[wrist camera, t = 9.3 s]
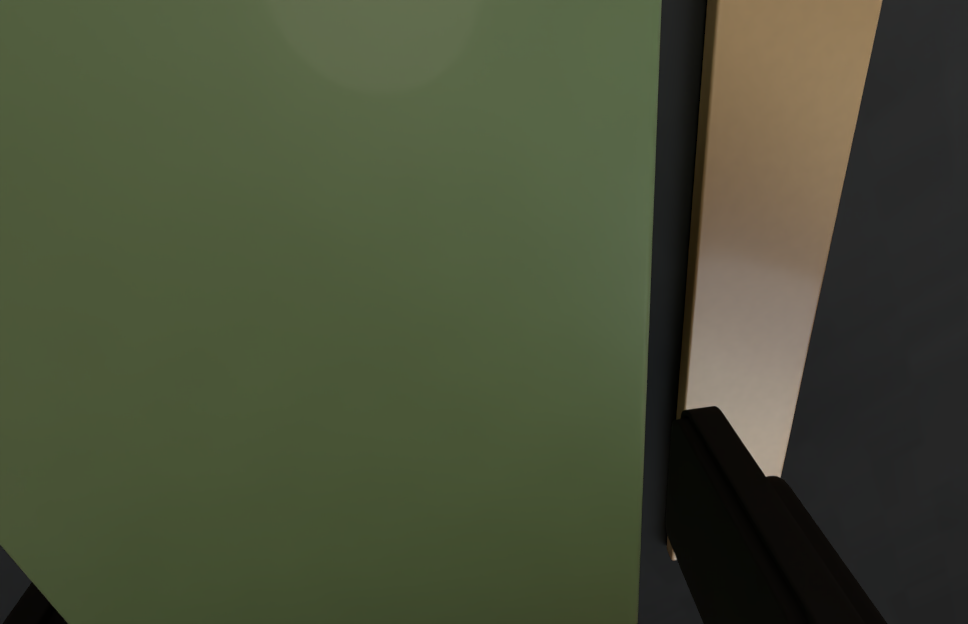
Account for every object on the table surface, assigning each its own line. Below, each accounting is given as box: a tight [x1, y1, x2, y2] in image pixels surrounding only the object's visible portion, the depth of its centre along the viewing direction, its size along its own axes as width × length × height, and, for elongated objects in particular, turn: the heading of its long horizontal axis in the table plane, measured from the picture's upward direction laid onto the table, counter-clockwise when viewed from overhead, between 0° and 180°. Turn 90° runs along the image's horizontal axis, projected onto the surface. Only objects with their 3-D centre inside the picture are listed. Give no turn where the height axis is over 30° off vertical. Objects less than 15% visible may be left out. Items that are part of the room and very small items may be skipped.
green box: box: [0, 0, 662, 624], centre depth 8 cm, size 5×10×6 cm, turn 7°
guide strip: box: [667, 0, 882, 560], centre depth 11 cm, size 14×2×1 cm, turn 7°
